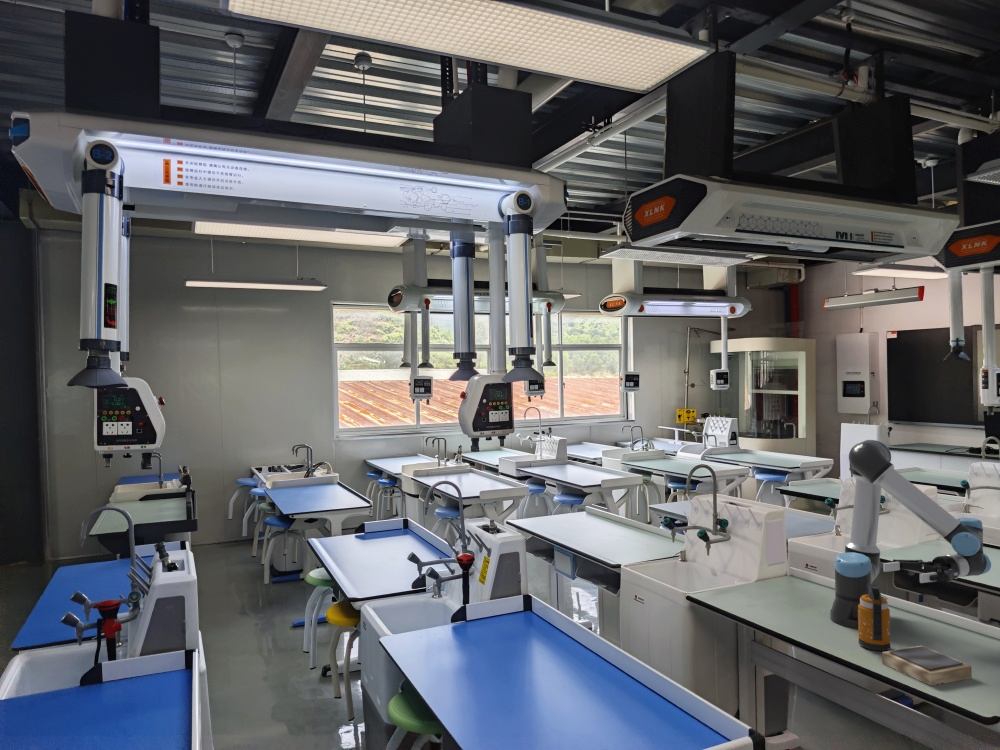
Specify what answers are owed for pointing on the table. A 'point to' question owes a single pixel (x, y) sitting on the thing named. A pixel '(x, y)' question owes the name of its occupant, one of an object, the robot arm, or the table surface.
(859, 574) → the robot arm
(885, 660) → the plinth
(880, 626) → the canister
